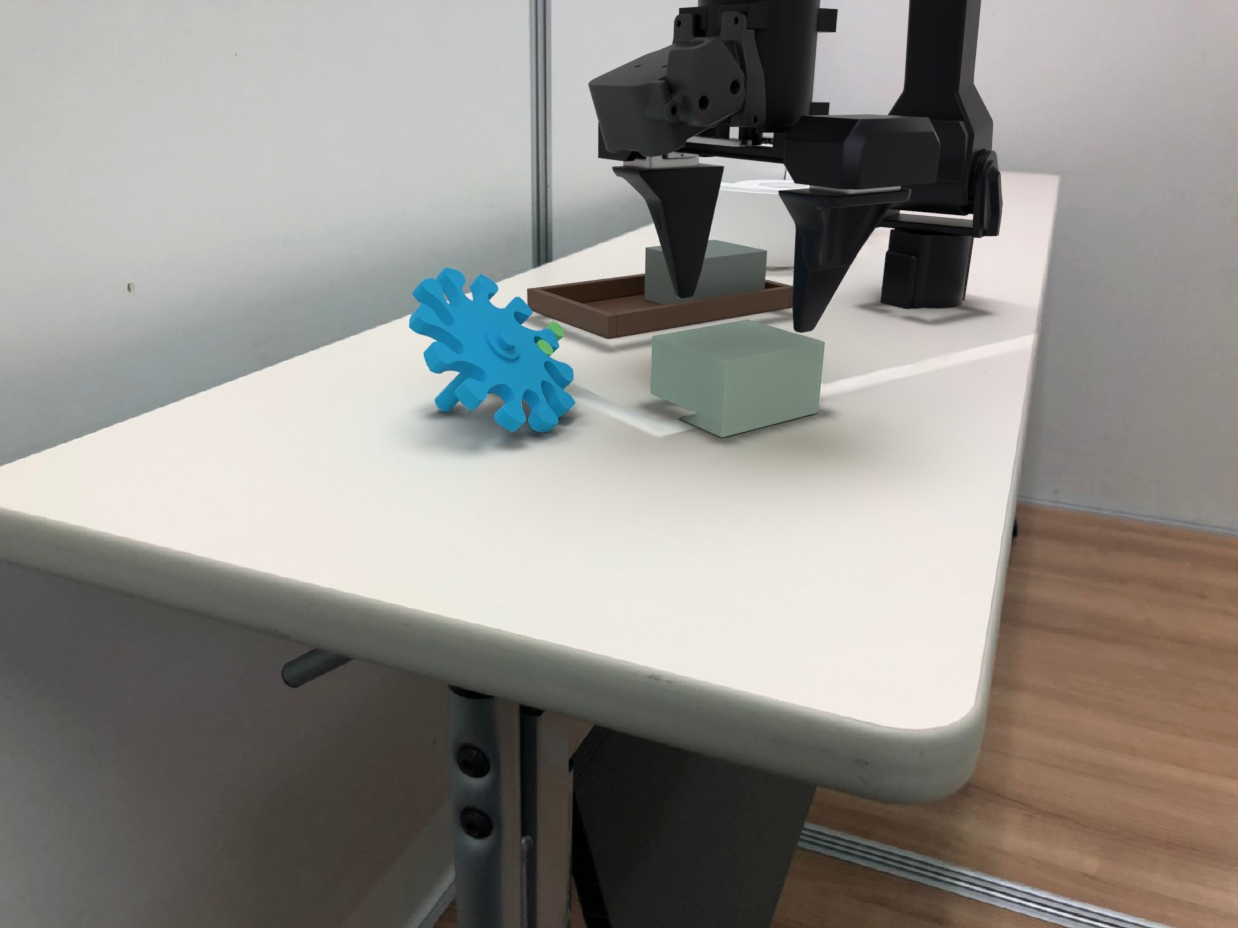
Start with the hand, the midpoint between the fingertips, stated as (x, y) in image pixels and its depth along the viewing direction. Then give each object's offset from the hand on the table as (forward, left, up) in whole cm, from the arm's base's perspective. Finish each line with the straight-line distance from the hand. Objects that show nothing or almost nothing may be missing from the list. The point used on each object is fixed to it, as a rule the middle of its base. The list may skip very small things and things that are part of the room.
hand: (740, 313), depth 51 cm
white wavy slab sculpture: (-39, -37, -6) cm, 54 cm away
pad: (-14, -19, -4) cm, 24 cm away
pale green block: (0, 0, -5) cm, 5 cm away
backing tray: (-10, -19, -5) cm, 22 cm away
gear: (+11, -6, -6) cm, 14 cm away
